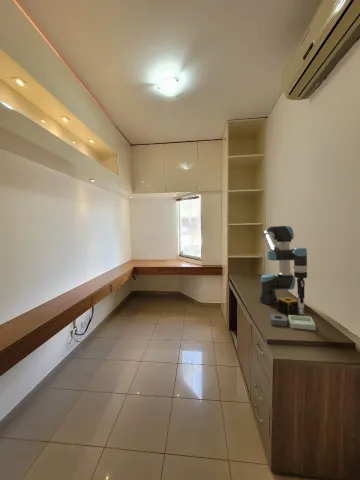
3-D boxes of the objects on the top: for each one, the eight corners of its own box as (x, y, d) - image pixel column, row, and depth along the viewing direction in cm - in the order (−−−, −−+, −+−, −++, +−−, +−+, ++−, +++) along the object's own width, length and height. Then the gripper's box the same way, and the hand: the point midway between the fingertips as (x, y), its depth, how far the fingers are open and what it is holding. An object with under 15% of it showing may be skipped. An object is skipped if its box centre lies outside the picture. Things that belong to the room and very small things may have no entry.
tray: (288, 319, 160) (288, 314, 159) (311, 320, 155) (310, 316, 155) (290, 327, 146) (290, 323, 146) (315, 330, 142) (315, 325, 142)
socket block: (270, 318, 162) (270, 313, 161) (285, 319, 158) (285, 315, 158) (270, 324, 152) (270, 319, 152) (287, 326, 149) (287, 321, 149)
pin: (298, 312, 152) (298, 294, 151) (303, 312, 151) (303, 294, 150) (299, 313, 149) (298, 295, 148) (304, 314, 148) (303, 296, 147)
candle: (277, 311, 174) (277, 298, 174) (287, 308, 178) (287, 296, 177) (288, 316, 165) (287, 302, 164) (298, 313, 168) (298, 300, 168)
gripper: (292, 268, 157) (293, 302, 158) (295, 273, 142) (296, 310, 143) (304, 269, 155) (305, 302, 156) (309, 274, 139) (310, 311, 141)
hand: (301, 306), depth 150 cm, fingers closed on pin, 3 cm apart
